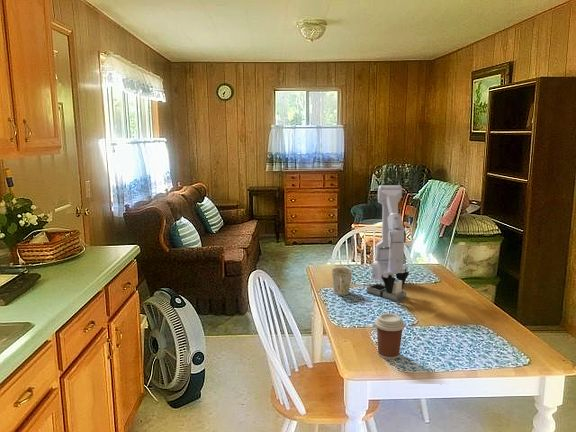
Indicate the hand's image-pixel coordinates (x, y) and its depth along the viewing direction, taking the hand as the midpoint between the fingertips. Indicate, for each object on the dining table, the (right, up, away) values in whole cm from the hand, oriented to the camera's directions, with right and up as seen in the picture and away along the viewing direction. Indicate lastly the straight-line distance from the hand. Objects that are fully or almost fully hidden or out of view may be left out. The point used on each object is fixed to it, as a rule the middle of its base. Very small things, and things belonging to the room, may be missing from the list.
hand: (394, 290), depth 197 cm
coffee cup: (-13, -12, -48) cm, 51 cm away
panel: (-3, -3, +4) cm, 5 cm away
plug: (0, -3, +1) cm, 3 cm away
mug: (-21, -3, +4) cm, 22 cm away
